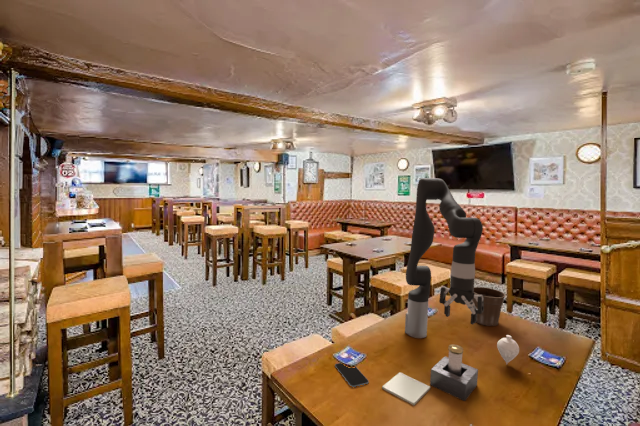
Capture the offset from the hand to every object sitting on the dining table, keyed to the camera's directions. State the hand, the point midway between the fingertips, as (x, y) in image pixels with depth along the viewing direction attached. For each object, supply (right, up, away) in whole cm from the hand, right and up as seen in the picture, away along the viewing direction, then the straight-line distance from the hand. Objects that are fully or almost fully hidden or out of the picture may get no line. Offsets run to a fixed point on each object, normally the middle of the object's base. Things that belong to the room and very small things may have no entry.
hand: (459, 319), depth 112 cm
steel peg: (-1, -24, +2) cm, 24 cm away
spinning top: (+26, -24, +16) cm, 39 cm away
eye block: (-1, -24, +2) cm, 24 cm away
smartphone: (-37, -24, +8) cm, 45 cm away
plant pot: (+39, -20, +57) cm, 71 cm away
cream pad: (-19, -24, 0) cm, 31 cm away
